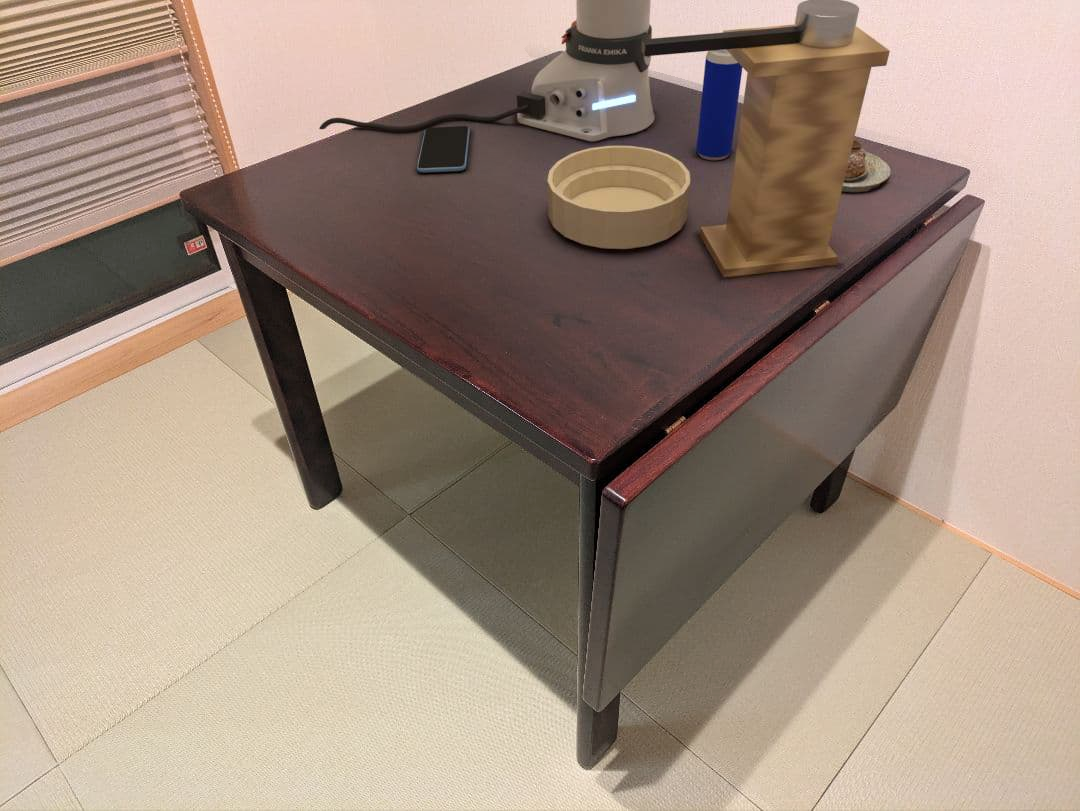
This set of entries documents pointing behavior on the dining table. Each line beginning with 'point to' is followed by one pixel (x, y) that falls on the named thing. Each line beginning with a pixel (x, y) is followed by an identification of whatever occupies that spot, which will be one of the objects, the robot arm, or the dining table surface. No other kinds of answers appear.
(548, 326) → the dining table surface
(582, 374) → the dining table surface
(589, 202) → the bowl
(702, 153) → the beverage can
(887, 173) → the pastry
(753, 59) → the wooden column stand
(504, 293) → the dining table surface
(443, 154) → the smartphone
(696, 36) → the black handled spatula
